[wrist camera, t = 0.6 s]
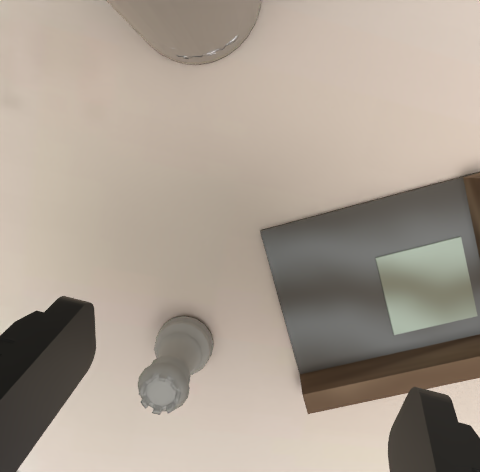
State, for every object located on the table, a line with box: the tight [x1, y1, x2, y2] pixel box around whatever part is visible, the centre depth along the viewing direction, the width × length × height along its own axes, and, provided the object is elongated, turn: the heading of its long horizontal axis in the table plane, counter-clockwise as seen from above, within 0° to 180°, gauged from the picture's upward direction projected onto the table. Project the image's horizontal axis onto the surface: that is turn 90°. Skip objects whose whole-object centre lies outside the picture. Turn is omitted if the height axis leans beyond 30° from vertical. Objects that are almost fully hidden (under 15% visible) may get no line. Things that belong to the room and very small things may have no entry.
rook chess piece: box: [138, 316, 213, 415], centre depth 29 cm, size 4×4×8 cm
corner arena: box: [260, 172, 480, 414], centre depth 29 cm, size 13×16×4 cm
